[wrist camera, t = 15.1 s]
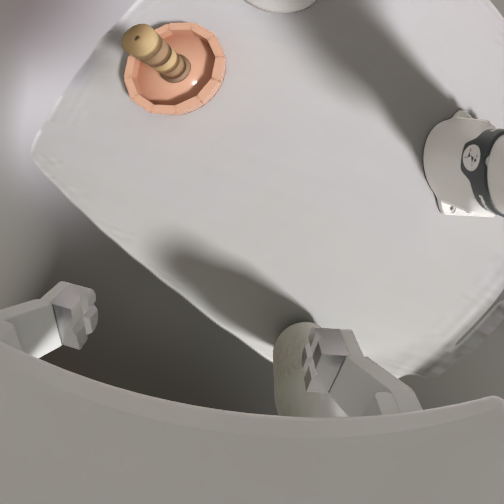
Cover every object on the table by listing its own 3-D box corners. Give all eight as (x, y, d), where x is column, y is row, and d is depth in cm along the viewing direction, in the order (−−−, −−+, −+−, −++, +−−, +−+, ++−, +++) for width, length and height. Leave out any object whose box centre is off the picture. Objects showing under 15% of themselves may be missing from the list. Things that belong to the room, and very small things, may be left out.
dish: (233, 32, 32) (231, 24, 29) (217, 119, 37) (213, 117, 34) (143, 31, 32) (136, 25, 29) (127, 113, 37) (117, 112, 34)
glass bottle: (296, 362, 53) (314, 494, 27) (260, 333, 50) (261, 478, 24) (338, 334, 50) (381, 466, 24) (304, 300, 47) (340, 447, 21)
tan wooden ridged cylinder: (193, 55, 33) (163, 18, 19) (188, 83, 34) (153, 57, 21) (164, 55, 32) (122, 21, 19) (158, 82, 34) (113, 59, 21)
